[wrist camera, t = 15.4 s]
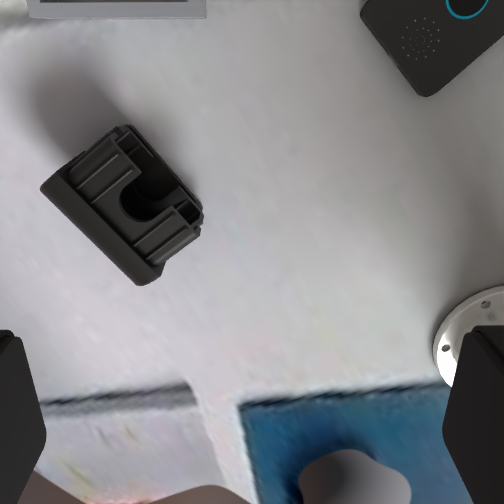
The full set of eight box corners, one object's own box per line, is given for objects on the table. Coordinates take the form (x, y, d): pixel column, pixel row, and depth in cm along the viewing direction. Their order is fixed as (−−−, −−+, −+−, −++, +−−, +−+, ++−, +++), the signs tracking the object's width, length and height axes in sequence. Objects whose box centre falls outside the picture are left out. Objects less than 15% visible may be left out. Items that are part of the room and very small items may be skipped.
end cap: (61, 171, 37) (24, 199, 31) (124, 115, 35) (99, 133, 29) (147, 259, 40) (129, 300, 34) (209, 212, 38) (202, 246, 32)
